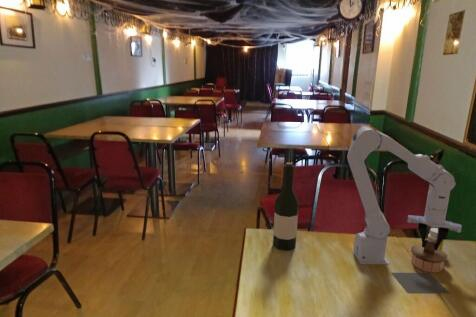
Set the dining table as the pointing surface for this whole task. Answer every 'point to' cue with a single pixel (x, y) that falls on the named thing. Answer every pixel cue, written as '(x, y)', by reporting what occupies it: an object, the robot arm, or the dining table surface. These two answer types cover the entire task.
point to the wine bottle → (286, 213)
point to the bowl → (427, 264)
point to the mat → (419, 283)
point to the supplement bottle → (435, 237)
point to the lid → (429, 252)
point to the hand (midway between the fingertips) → (429, 247)
